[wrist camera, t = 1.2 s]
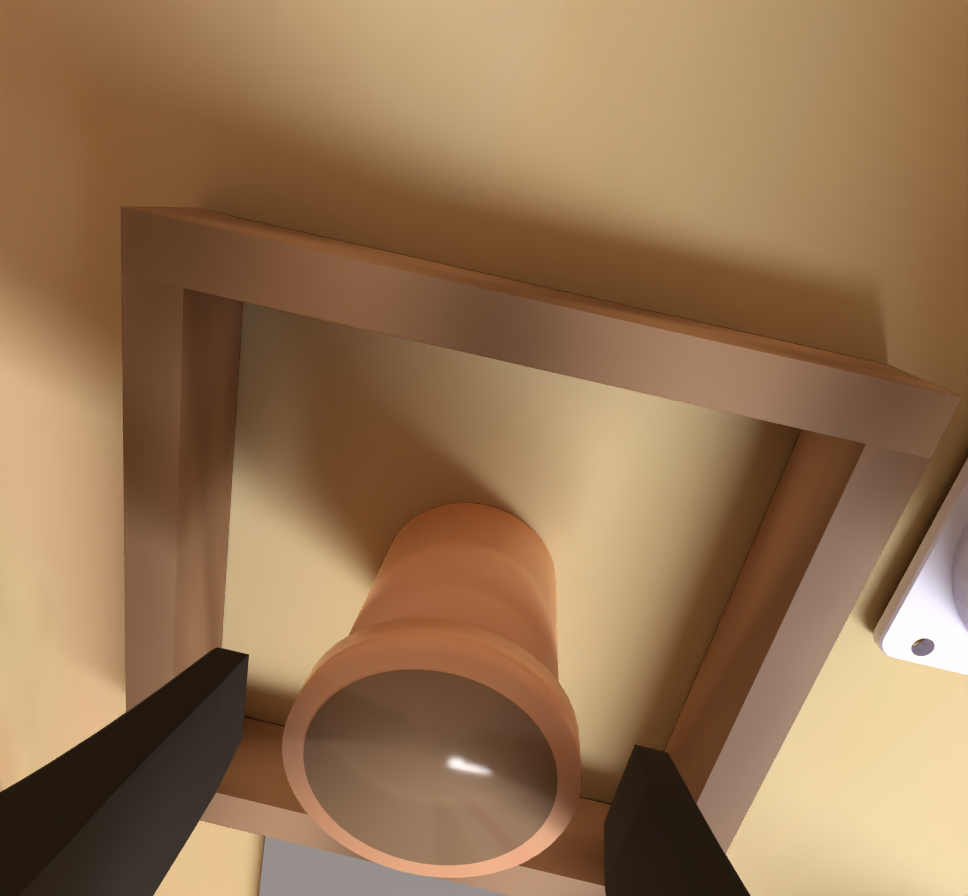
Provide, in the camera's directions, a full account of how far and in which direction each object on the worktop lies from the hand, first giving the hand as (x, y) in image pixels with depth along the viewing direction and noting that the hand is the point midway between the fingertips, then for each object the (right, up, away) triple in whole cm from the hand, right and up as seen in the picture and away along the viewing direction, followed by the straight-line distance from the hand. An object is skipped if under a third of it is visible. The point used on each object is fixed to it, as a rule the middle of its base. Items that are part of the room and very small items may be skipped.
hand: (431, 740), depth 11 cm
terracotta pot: (+1, +2, +5) cm, 5 cm away
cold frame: (+1, +2, +5) cm, 5 cm away
